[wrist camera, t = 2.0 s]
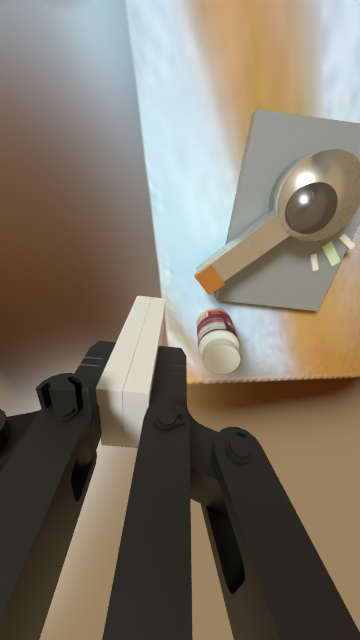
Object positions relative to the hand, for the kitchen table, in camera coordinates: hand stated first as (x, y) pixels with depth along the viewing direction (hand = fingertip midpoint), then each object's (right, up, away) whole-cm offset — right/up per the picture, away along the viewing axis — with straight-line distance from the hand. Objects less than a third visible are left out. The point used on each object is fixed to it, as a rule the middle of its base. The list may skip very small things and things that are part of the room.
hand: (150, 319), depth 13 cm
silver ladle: (+10, +9, +11) cm, 18 cm away
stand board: (+14, +10, +13) cm, 21 cm away
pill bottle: (+6, 0, +19) cm, 20 cm away
